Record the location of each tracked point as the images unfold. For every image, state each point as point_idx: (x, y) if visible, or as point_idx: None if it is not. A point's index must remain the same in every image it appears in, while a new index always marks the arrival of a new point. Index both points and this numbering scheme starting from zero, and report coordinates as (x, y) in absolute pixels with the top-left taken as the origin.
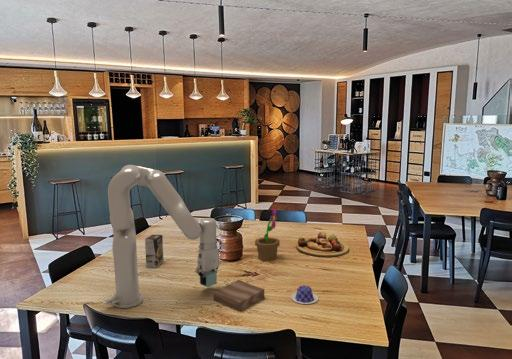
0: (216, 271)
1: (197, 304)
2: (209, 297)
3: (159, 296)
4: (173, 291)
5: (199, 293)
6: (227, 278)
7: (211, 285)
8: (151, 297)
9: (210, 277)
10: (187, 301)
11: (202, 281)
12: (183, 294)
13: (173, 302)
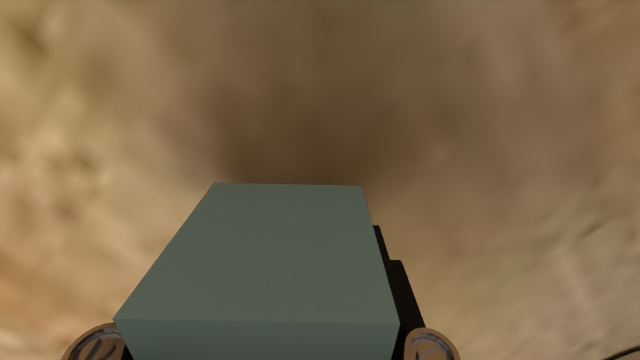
0: (86, 346)
1: (594, 63)
2: (405, 81)
3: (542, 338)
4: (452, 332)
5: (388, 209)
6: (24, 235)
7: (299, 186)
8: (567, 352)
9: (314, 271)
10: (558, 180)
11: (405, 282)
12: (461, 274)
13: (602, 241)
